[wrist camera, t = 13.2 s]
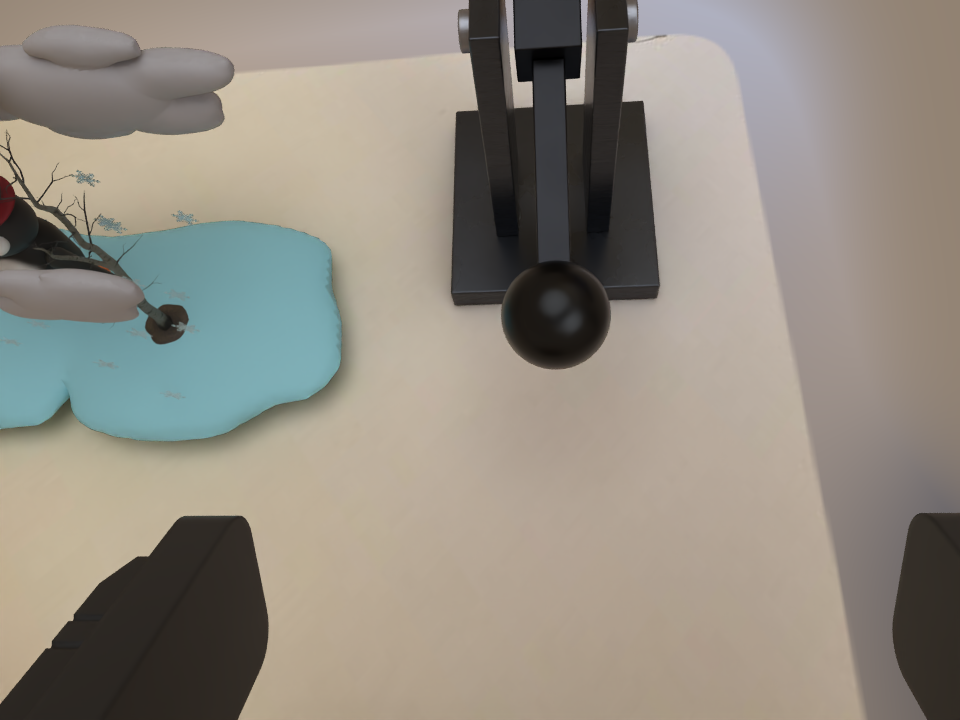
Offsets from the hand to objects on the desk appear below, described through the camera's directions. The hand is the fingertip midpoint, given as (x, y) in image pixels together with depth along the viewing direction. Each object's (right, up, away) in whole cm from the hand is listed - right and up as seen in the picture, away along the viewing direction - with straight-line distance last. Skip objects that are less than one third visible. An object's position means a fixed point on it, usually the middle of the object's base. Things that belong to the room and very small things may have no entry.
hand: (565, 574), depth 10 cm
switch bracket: (+2, +10, +27) cm, 29 cm away
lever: (+2, +9, +19) cm, 21 cm away
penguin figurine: (-17, +4, +27) cm, 32 cm away
